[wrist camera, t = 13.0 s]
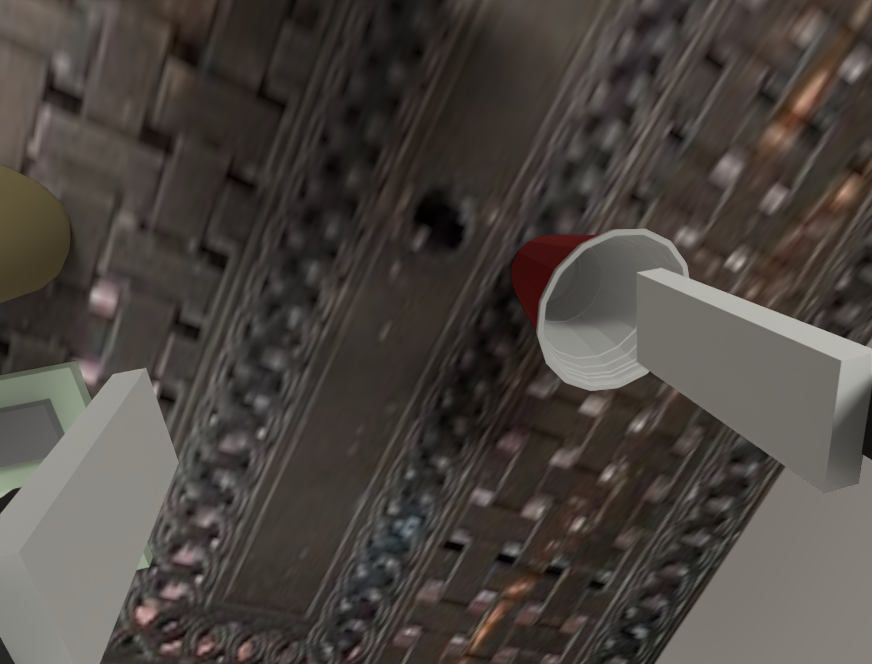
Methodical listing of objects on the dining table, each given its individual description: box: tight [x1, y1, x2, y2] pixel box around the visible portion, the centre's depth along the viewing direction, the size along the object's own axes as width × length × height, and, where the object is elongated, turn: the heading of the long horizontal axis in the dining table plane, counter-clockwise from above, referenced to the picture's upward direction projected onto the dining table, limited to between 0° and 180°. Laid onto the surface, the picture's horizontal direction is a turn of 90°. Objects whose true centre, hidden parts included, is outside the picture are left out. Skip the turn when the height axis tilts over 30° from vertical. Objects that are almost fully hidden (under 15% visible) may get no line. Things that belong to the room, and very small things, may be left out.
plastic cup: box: [511, 229, 689, 391], centre depth 41 cm, size 11×11×12 cm
